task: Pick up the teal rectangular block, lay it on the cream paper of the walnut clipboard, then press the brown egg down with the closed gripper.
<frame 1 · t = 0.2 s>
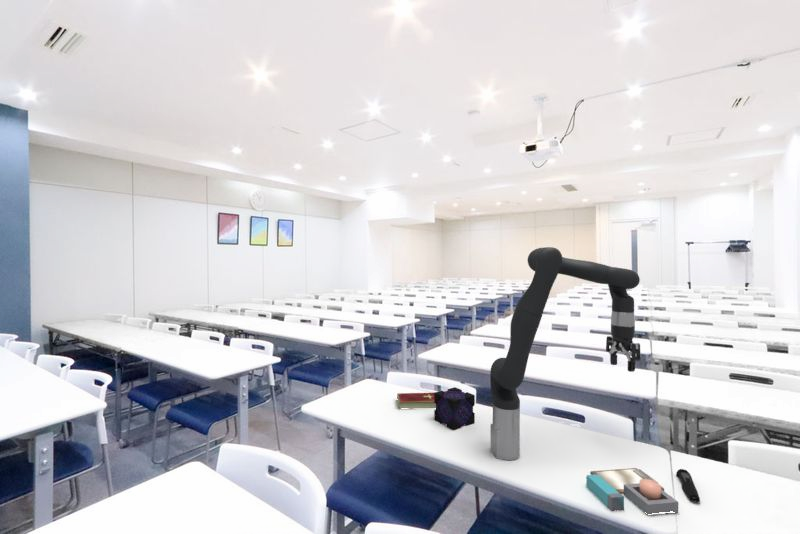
hand: (622, 367, 136), 29 cm above the table, tool pointing down, fingers open, 8 cm apart
energy cube: (454, 422, 157), on the table
teal rectangular block: (604, 497, 107), on the table
brown egg: (650, 489, 104), point 4 cm above the table, slide at 0.0 cm
button collar: (649, 503, 104), on the table
hardcover book: (419, 405, 177), on the table
electric trimmer: (688, 490, 111), on the table
clipboard: (625, 481, 114), on the table
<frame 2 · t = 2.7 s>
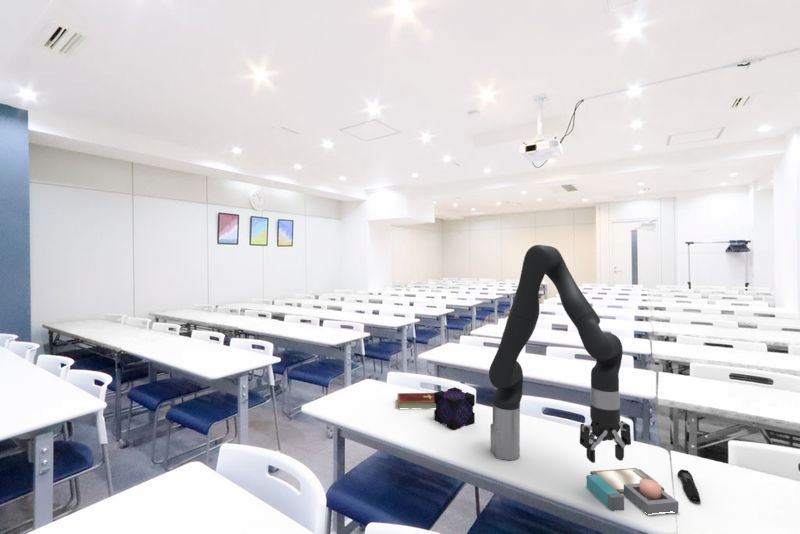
hand: (605, 460, 106), 11 cm above the table, tool pointing down, fingers open, 8 cm apart
nothing on the table moved.
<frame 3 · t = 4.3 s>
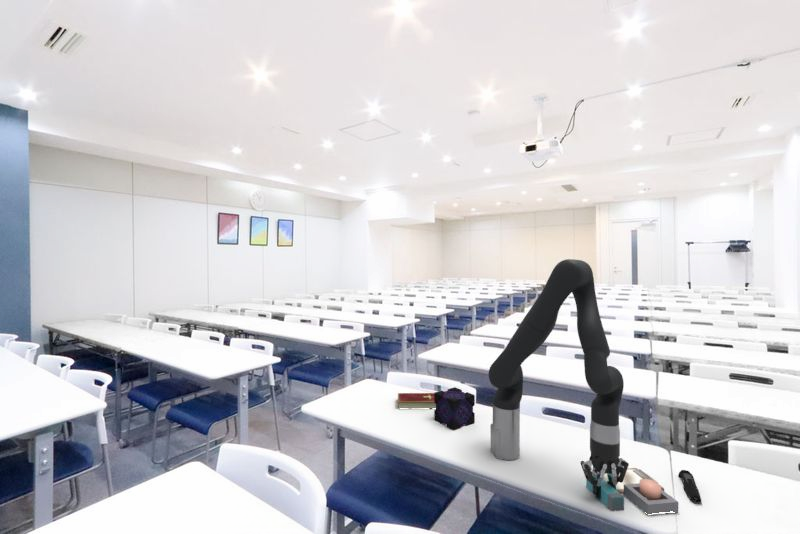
hand: (604, 496, 107), 0 cm above the table, tool pointing down, fingers closed on teal rectangular block, 3 cm apart
teal rectangular block: (604, 497, 107), on the table, touching gripper
everything else where it was.
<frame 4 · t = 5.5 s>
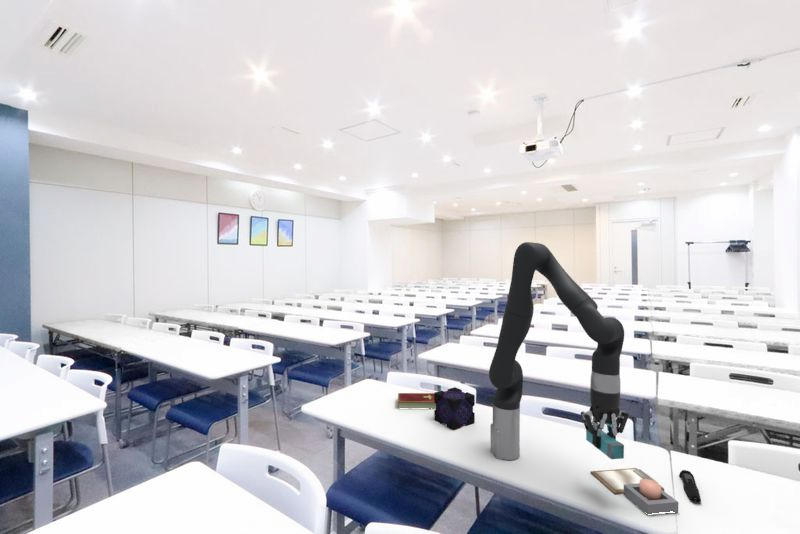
hand: (604, 446, 106), 15 cm above the table, tool pointing down, fingers closed on teal rectangular block, 3 cm apart
teal rectangular block: (603, 448, 106), point 14 cm above the table, touching gripper
everything else where it was.
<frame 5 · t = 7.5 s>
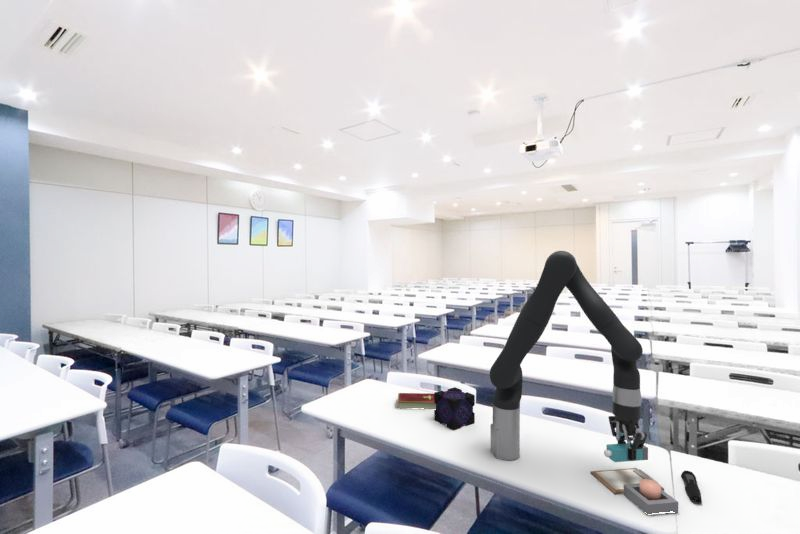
hand: (626, 456, 114), 8 cm above the table, tool pointing down, fingers closed on teal rectangular block, 3 cm apart
teal rectangular block: (626, 457, 114), point 7 cm above the table, touching gripper
everything else where it was.
when the fingers open (2 cm above the table, at t = 8.7 s): teal rectangular block stays where it is, resting on clipboard.
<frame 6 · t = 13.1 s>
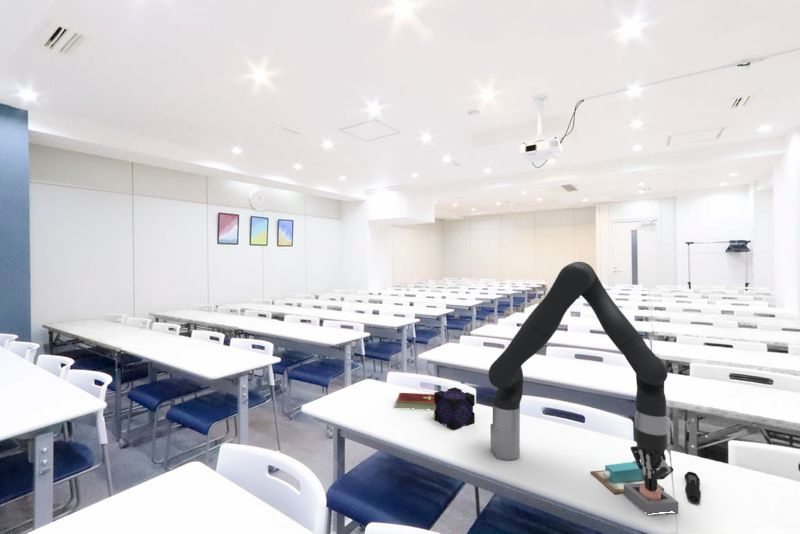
hand: (650, 489, 104), 4 cm above the table, tool pointing down, fingers closed
teal rectangular block: (625, 477, 114), point 1 cm above the table, touching clipboard
brown egg: (650, 494, 104), point 3 cm above the table, slide at 1.5 cm, touching gripper
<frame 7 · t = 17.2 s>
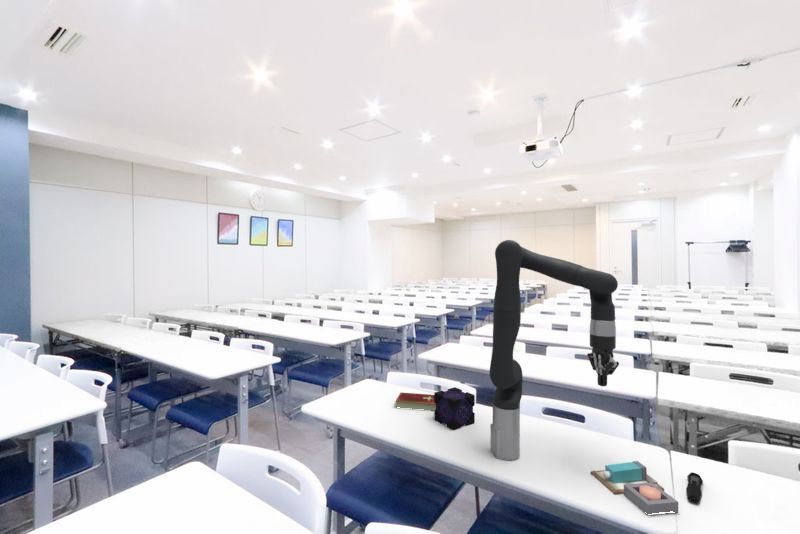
hand: (602, 385, 122), 27 cm above the table, tool pointing down, fingers closed
brown egg: (650, 496, 104), point 2 cm above the table, slide at 1.9 cm
at the end: teal rectangular block inside the target area on the clipboard (0.0 cm from its centre), point 1.1 cm above the clipboard's base; brown egg slide at 1.9 cm; the gripper is holding nothing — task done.
